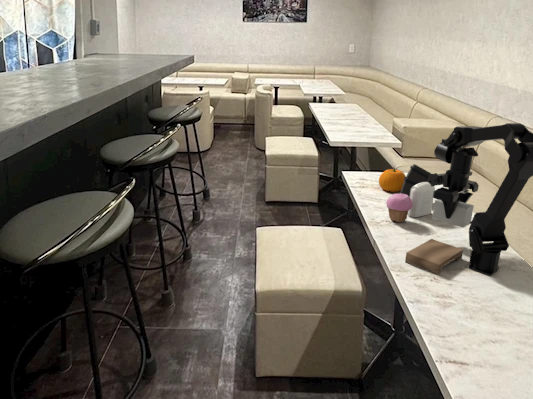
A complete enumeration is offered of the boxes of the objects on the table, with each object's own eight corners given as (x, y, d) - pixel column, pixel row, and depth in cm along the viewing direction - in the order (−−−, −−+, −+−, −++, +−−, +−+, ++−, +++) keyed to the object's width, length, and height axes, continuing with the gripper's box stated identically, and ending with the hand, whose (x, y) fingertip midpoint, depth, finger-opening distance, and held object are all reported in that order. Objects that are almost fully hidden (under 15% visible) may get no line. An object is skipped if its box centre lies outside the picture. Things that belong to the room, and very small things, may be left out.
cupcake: (413, 220, 167) (417, 193, 164) (405, 227, 160) (409, 199, 157) (389, 214, 172) (392, 188, 168) (380, 221, 165) (383, 194, 162)
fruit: (376, 191, 197) (379, 169, 194) (379, 184, 208) (381, 162, 204) (405, 195, 194) (408, 172, 190) (406, 187, 204) (409, 165, 201)
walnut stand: (461, 258, 138) (463, 249, 137) (437, 274, 128) (439, 264, 127) (430, 247, 145) (431, 238, 144) (405, 262, 135) (406, 252, 134)
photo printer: (423, 210, 177) (428, 179, 173) (432, 214, 174) (437, 182, 170) (404, 215, 172) (409, 183, 168) (414, 219, 168) (419, 186, 164)
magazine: (391, 194, 189) (412, 163, 184) (420, 209, 189) (441, 179, 184) (392, 197, 186) (414, 165, 180) (421, 213, 186) (443, 181, 181)
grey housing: (470, 223, 145) (474, 203, 142) (463, 227, 141) (466, 207, 139) (439, 214, 151) (442, 195, 149) (432, 218, 148) (435, 198, 146)
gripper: (448, 158, 152) (441, 203, 157) (420, 167, 140) (413, 216, 145) (483, 165, 145) (474, 212, 150) (456, 175, 132) (447, 226, 137)
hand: (451, 216), depth 146 cm, fingers closed on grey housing, 5 cm apart
